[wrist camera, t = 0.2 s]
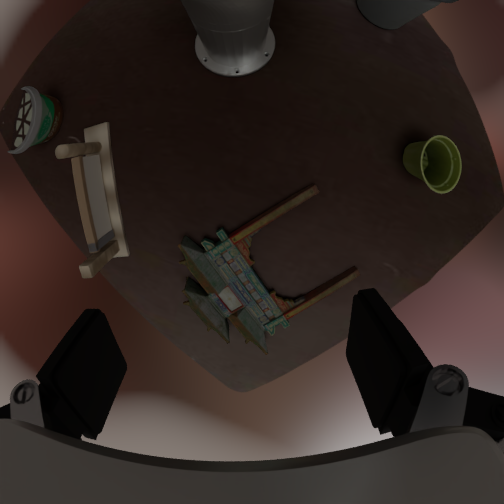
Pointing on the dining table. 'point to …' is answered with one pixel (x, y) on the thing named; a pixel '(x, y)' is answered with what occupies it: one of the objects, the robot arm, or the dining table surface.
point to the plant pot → (434, 163)
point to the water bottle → (395, 11)
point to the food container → (36, 119)
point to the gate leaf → (92, 201)
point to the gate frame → (101, 145)
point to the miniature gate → (245, 281)
